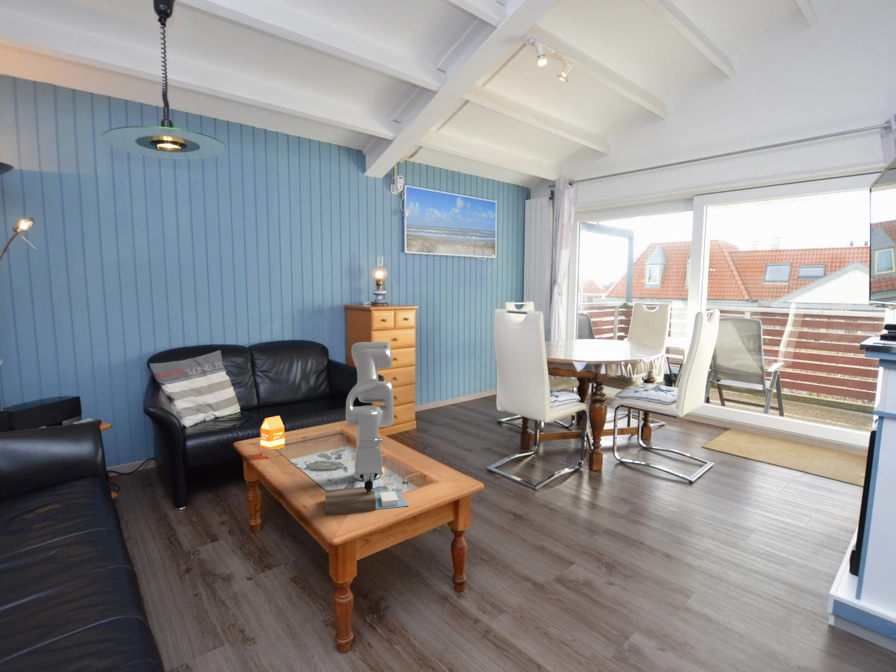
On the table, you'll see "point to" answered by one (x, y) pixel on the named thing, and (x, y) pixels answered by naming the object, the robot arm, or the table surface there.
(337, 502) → the brown wooden block
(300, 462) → the table surface
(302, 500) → the table surface
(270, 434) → the orange juice
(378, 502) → the mat
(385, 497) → the off-white flat slab
